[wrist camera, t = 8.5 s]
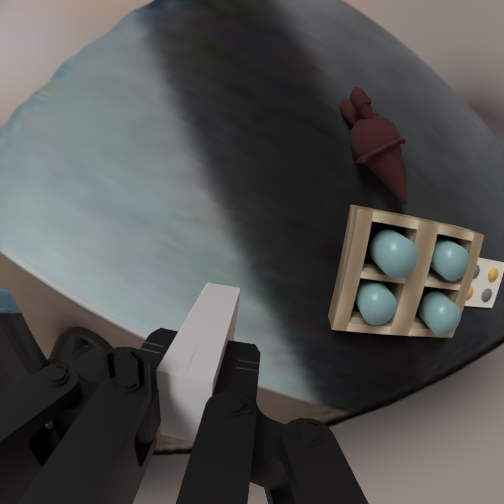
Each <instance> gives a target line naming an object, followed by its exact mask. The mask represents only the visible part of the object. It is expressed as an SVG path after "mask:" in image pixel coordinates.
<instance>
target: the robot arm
mask: <svg viewBox="0 0 504 504" xmlns="http://www.w3.org/2000/svg"><path fill="white" fill-rule="evenodd" d="M239 295H240V288H237V287H231V286H225V285H219V284H213V283H207V284H206V285H205V287H204V289H203V291H202V292H201V294H200V296H199V297H198V299H197V301H196V302H195V304H194V306H193V308H192V309H191V311H190V313H189V314H188V316H187V318H186V319H185V321H184V323H183V325H182V326H181V328H180V330H179V332H177V331H173V330H168V329H163V328H160V329H158V330H156V331H154V332H152V333H151V334H150V335H149V336H148V338H147V339H146V341H145V343H143V345H142V346H141V348H140V349H139V350H138V349H136V348H131V347H116V348H112V347H111V346H110V345H109V344H108V343H107V342H106V341H105V340H104V339H103V338H101V337H100V336H99V335H97V334H96V333H94V332H92V331H90V330H88V329H85V328H81V327H72V328H69V329H67V330H66V331H65V332H64V333H63V334H61V335H60V336H59V338H58V339H57V341H56V343H55V345H54V347H53V349H52V352H51V354H50V356H49V358H48V360H47V359H46V358H45V356H44V354H43V353H42V351H41V349H40V347H39V346H38V344H37V342H36V341H35V339H34V337H33V335H32V333H31V331H30V329H29V327H28V326H27V324H26V322H25V320H24V318H23V316H22V312H21V311H20V310H19V308H18V306H17V305H16V303H15V301H14V299H13V297H12V295H11V294H10V293H9V292H8V291H7V290H5V289H0V504H133V501H134V498H135V496H136V494H137V491H138V489H139V486H140V483H141V481H142V479H143V476H144V473H145V471H146V468H147V466H148V464H149V461H150V459H151V456H152V454H153V451H154V449H155V446H156V435H155V434H156V432H157V430H158V427H159V425H160V432H161V434H163V435H167V436H171V437H175V438H179V439H183V440H187V441H192V442H194V445H193V448H192V451H191V455H190V458H189V461H188V465H187V468H186V471H185V475H184V478H183V481H182V485H181V489H180V492H179V496H178V498H177V502H176V504H247V502H248V493H249V483H250V482H252V483H254V484H257V485H259V486H262V487H264V489H265V493H266V497H267V501H268V504H368V502H367V500H366V498H365V496H364V494H363V492H362V490H361V488H360V486H359V484H358V482H357V480H356V478H355V476H354V474H353V472H352V470H351V468H350V466H349V464H348V462H347V460H346V458H345V456H344V454H343V452H342V450H341V448H340V446H339V444H338V442H337V440H336V438H335V436H334V434H333V432H332V431H331V430H330V429H329V427H328V426H326V425H325V424H323V423H322V422H320V421H317V420H314V419H310V418H299V419H295V420H292V421H290V422H289V423H288V424H286V425H285V424H282V423H280V422H277V421H274V420H272V419H270V418H268V417H267V416H265V415H264V414H263V413H262V412H261V411H260V410H259V408H258V406H257V403H256V396H257V385H258V374H259V363H260V352H259V350H258V348H257V346H256V345H255V344H249V343H243V342H236V341H233V339H234V332H235V324H236V317H237V309H238V302H239Z"/></svg>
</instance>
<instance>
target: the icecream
mask: <svg viewBox="0 0 504 504" xmlns="http://www.w3.org/2000/svg"><path fill="white" fill-rule="evenodd" d="M350 100H351V103H352V104H351V103H350V102H349V101H348V100H343V101H341V103H340V110H341V112H342V114H343V116H344V117H345V118H346V119H347V121H348V122H349V123H350V124H351V125H353V128H352V129H351V134H350V147H351V149H352V152H353V155H354V156H355V157H356V158H357V160H356V162H355V163H357V164H359V163H361V164H366V165H367V166H368V167H369V168H370V169H371V170H372V171H373V172H374V173H375V174H376V175H377V176H378V178H379V179H380V180H381V181H382V182H383V183H384V184H385V185H386V186H387V187H388V188H389V189H390V190H391V191H392V192H393V193H394V195H395V196H396V197H397V198H398V199H399V200H400V201H401V202H402V203H403V204H406V203H407V194H406V185H405V176H404V168H403V161H402V154H401V148H400V144H405V140H404V139H403V138H400V135H399V132H398V131H397V129H396V127H395V125H394V124H393V123H391V122H390V121H388V120H387V119H385V118H383V117H380V116H379V115H378V114H375V113H372V109H371V106H370V104H371V99H370V98H369V97H368V96H367V95H366V93H365V92H364V91H363V90H362V89H361V88H358V87H355V88H354V89H353V90H352V92H351V94H350ZM360 116H361V117H362V118H361V117H360Z"/></svg>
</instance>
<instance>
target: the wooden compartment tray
mask: <svg viewBox="0 0 504 504" xmlns="http://www.w3.org/2000/svg"><path fill="white" fill-rule="evenodd" d="M372 221H374V222H380V223H385V224H391V225H396V226H401V227H405V229H404V234H403V236H404V237H406V238H407V239H409V240H411V241H412V242H413V243H414V244H415V246H416V248H417V251H418V260H417V264H416V266H415V268H414V269H413V271H412V272H411V273H410V274H409V275H407V276H405V277H403V278H398V279H397V278H391V277H389V276H388V275H386V274H385V273H384V271H383V270H382V269H381V268H380V267H379V266H376V265H369V264H363V263H364V259H365V254H366V249H367V244H368V239H369V234H370V229H371V223H372ZM437 234H442V235H446V236H451V237H456V238H458V239H457V244H458V245H460V246H462V247H463V248H465V249H466V251H467V252H468V255H469V265H468V269H467V271H466V273H465V274H464V275H463V276H462V277H461V278H460V279H458V280H456V281H449V280H447V279H445V278H444V277H443V276H441V275H439V274H432V273H428V271H429V267H430V263H431V259H432V255H433V251H434V247H435V243H436V238H437ZM483 237H484V235H482V234H480V233H477V232H475V231H472V230H470V229H466V228H462V227H458V226H454V225H449V224H445V223H441V222H436V221H432V220H427V219H422V218H418V217H413V216H408V215H403V214H398V213H393V212H388V211H383V210H378V209H372V208H367V207H361V206H356V205H350V211H349V217H348V223H347V229H346V234H345V240H344V245H343V250H342V255H341V260H340V265H339V270H338V275H337V280H336V284H335V289H334V293H333V298H332V302H331V306H330V310H329V315H328V317H329V321H330V324H331V328H332V330H340V331H351V332H362V333H375V334H388V335H404V336H423V337H440V336H437V335H435V334H434V333H433V332H432V330H431V329H430V328H429V327H428V325H427V324H426V323H425V322H424V321H423V319H422V318H421V317H415V315H416V312H417V308H418V305H419V302H420V299H421V296H422V292H423V289H424V286H427V287H435V288H444V292H443V294H444V295H446V296H447V297H448V298H449V299H450V300H451V301H452V302H453V303H455V304H456V305H457V306H458V307H459V309H460V311H461V313H462V310H463V308H464V305H465V302H466V299H467V296H468V293H469V289H470V286H471V283H472V280H473V276H474V273H475V269H476V265H477V262H478V258H479V254H480V250H481V246H482V241H483ZM360 278H364V279H372V280H379V281H387V282H392V285H391V289H390V292H391V293H392V294H393V295H394V297H395V299H396V301H397V309H396V312H395V314H394V316H393V317H392V318H391V319H390V320H389V321H388V322H386V323H384V324H382V325H371V324H369V323H367V322H366V321H365V320H364V318H363V316H362V314H361V312H356V311H352V309H353V305H354V301H355V297H356V293H357V289H358V285H359V281H360ZM454 332H455V330H454V331H453V332H452V333H450V334H449V335H446V336H443V337H451V338H452V337H453V334H454Z"/></svg>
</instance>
